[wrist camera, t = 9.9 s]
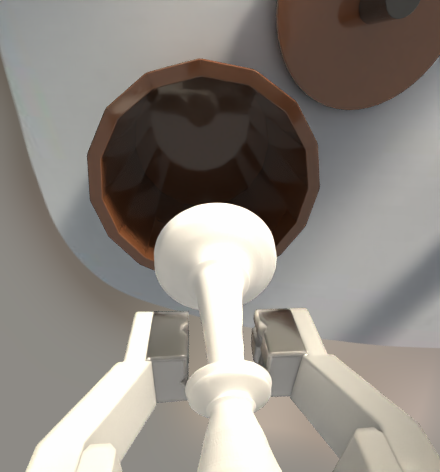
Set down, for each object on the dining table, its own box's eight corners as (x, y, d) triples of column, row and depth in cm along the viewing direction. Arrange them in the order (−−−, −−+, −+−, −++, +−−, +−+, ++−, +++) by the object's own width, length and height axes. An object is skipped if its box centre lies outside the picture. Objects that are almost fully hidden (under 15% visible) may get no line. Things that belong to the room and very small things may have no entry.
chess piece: (127, 248, 11) (-77, 823, 3) (231, 176, 10) (430, 808, 2) (203, 317, 14) (218, 749, 5) (295, 264, 12) (517, 718, 4)
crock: (171, 20, 24) (152, -10, 13) (303, 119, 29) (367, 155, 18) (106, 168, 30) (56, 229, 19) (224, 229, 35) (237, 305, 24)
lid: (375, -210, 18) (432, -295, 14) (502, -30, 24) (572, -50, 19) (237, 41, 25) (246, 37, 20) (361, 139, 30) (389, 152, 26)
